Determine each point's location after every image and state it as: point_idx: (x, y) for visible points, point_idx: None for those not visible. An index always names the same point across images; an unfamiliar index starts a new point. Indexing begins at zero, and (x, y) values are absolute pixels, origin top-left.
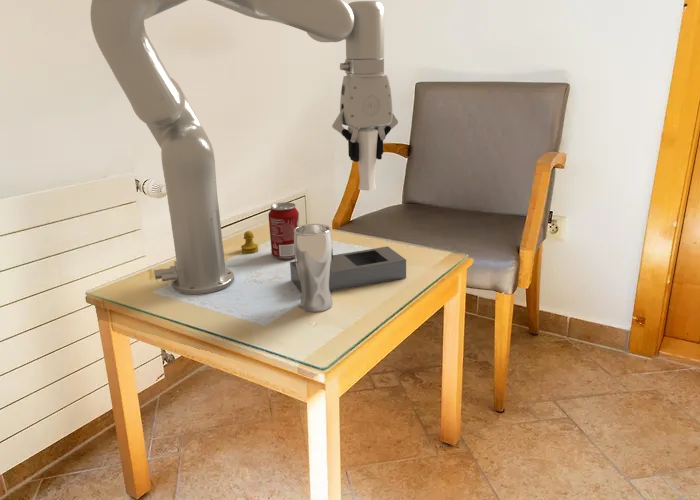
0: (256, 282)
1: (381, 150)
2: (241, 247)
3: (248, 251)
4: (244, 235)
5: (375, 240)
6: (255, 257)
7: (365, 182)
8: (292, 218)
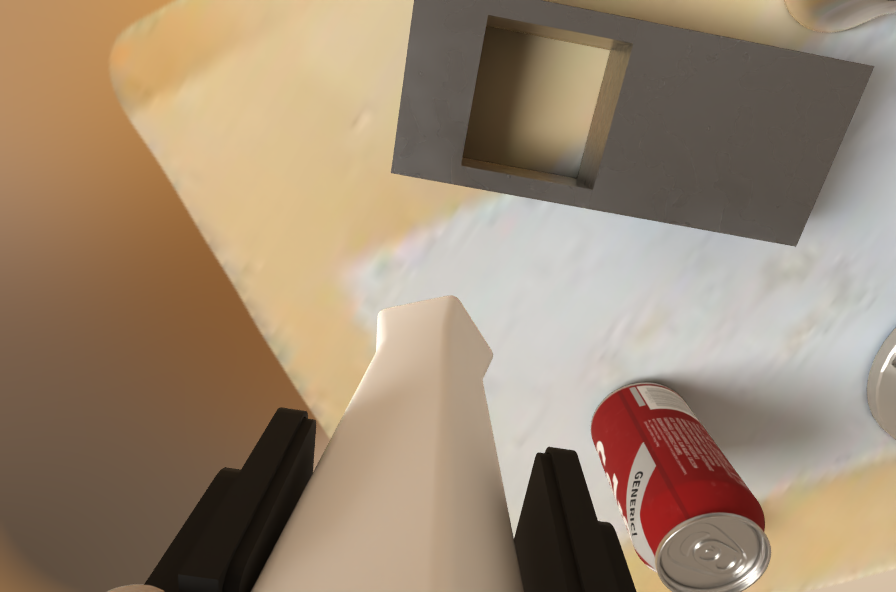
0: (848, 277)
1: (247, 465)
2: None
3: None
4: None
5: (314, 379)
6: None
7: (461, 343)
8: (693, 474)
